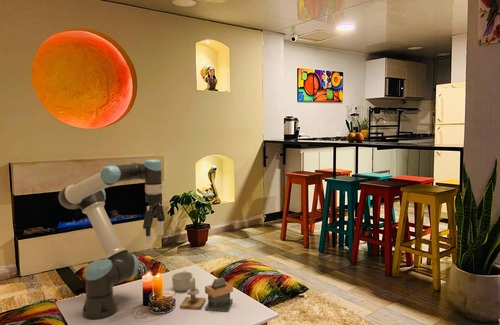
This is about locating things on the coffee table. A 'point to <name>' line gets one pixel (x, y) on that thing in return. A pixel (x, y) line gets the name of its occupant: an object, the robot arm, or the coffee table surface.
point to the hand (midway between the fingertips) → (154, 238)
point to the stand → (192, 298)
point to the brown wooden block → (218, 290)
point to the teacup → (181, 281)
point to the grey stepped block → (219, 298)
